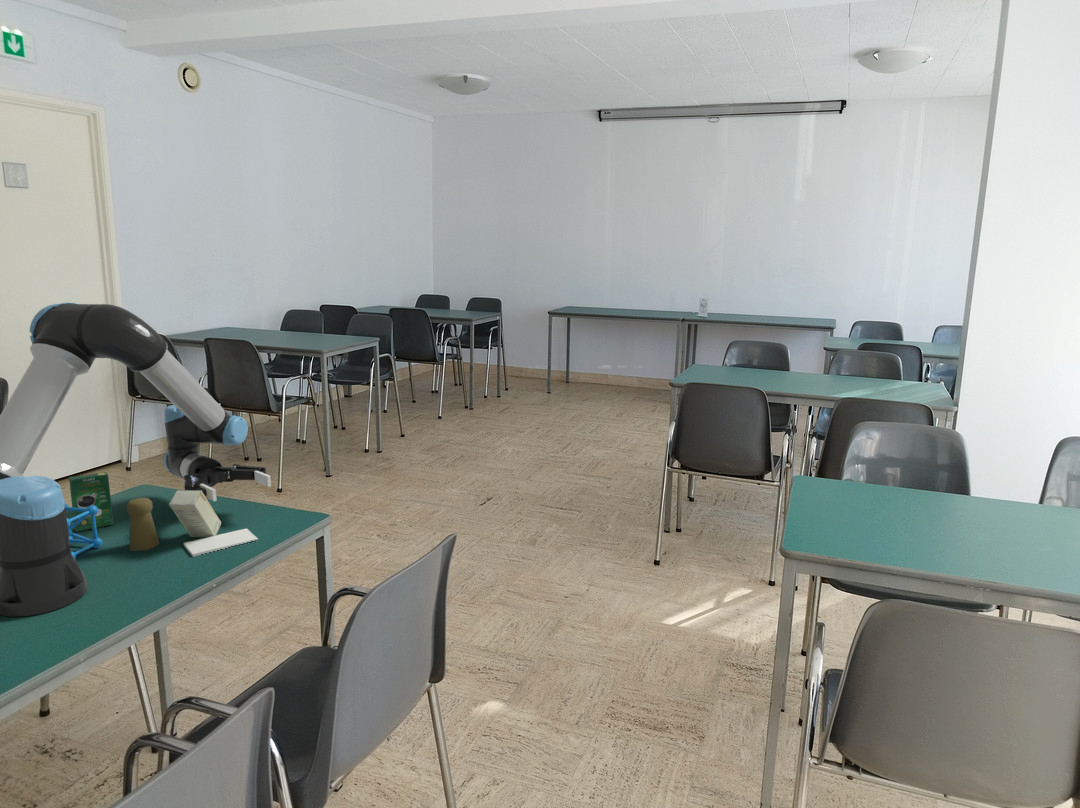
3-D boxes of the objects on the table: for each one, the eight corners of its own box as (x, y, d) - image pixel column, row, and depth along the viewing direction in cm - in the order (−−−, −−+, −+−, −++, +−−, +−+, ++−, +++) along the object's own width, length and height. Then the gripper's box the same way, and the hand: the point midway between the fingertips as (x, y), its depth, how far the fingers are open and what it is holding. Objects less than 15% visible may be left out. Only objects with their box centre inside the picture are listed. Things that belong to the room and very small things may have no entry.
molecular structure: (70, 564, 161) (63, 520, 159) (30, 560, 163) (23, 517, 161) (105, 546, 171) (99, 504, 169) (67, 542, 173) (61, 501, 171)
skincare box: (222, 522, 178) (203, 489, 170) (215, 538, 175) (195, 505, 166) (196, 522, 179) (176, 489, 170) (188, 537, 176) (168, 504, 167)
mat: (193, 556, 165) (192, 554, 164) (183, 545, 171) (183, 542, 171) (258, 541, 173) (257, 538, 173) (247, 530, 179) (246, 528, 179)
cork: (123, 549, 169) (116, 502, 167) (144, 539, 175) (138, 493, 172) (144, 552, 167) (138, 505, 165) (165, 542, 173) (160, 496, 170)
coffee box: (112, 521, 186) (105, 470, 183) (115, 524, 183) (108, 473, 181) (74, 529, 181) (67, 476, 178) (76, 532, 179) (69, 479, 176)
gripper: (249, 473, 203) (291, 490, 189) (153, 496, 185) (191, 517, 171) (247, 446, 201) (289, 461, 187) (149, 467, 183) (188, 485, 169)
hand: (242, 488), depth 179 cm, fingers open, 13 cm apart
